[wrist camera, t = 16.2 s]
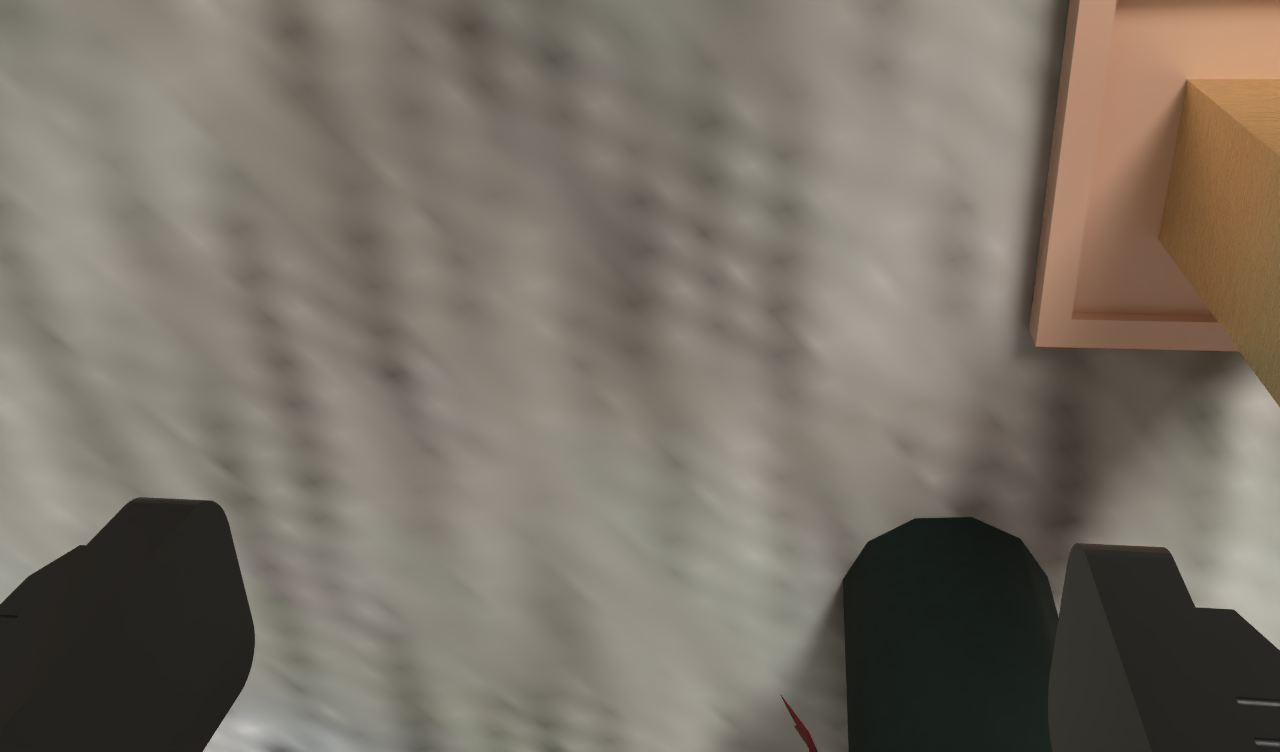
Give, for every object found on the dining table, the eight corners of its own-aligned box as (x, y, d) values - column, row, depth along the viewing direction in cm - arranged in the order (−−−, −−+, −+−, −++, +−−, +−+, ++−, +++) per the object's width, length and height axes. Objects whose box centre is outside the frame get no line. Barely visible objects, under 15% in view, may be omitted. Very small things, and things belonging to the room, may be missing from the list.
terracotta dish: (1075, -46, 33) (1084, -40, 32) (1529, -57, 32) (1557, -51, 30) (1028, 329, 39) (1035, 346, 38) (1414, 336, 37) (1434, 355, 36)
